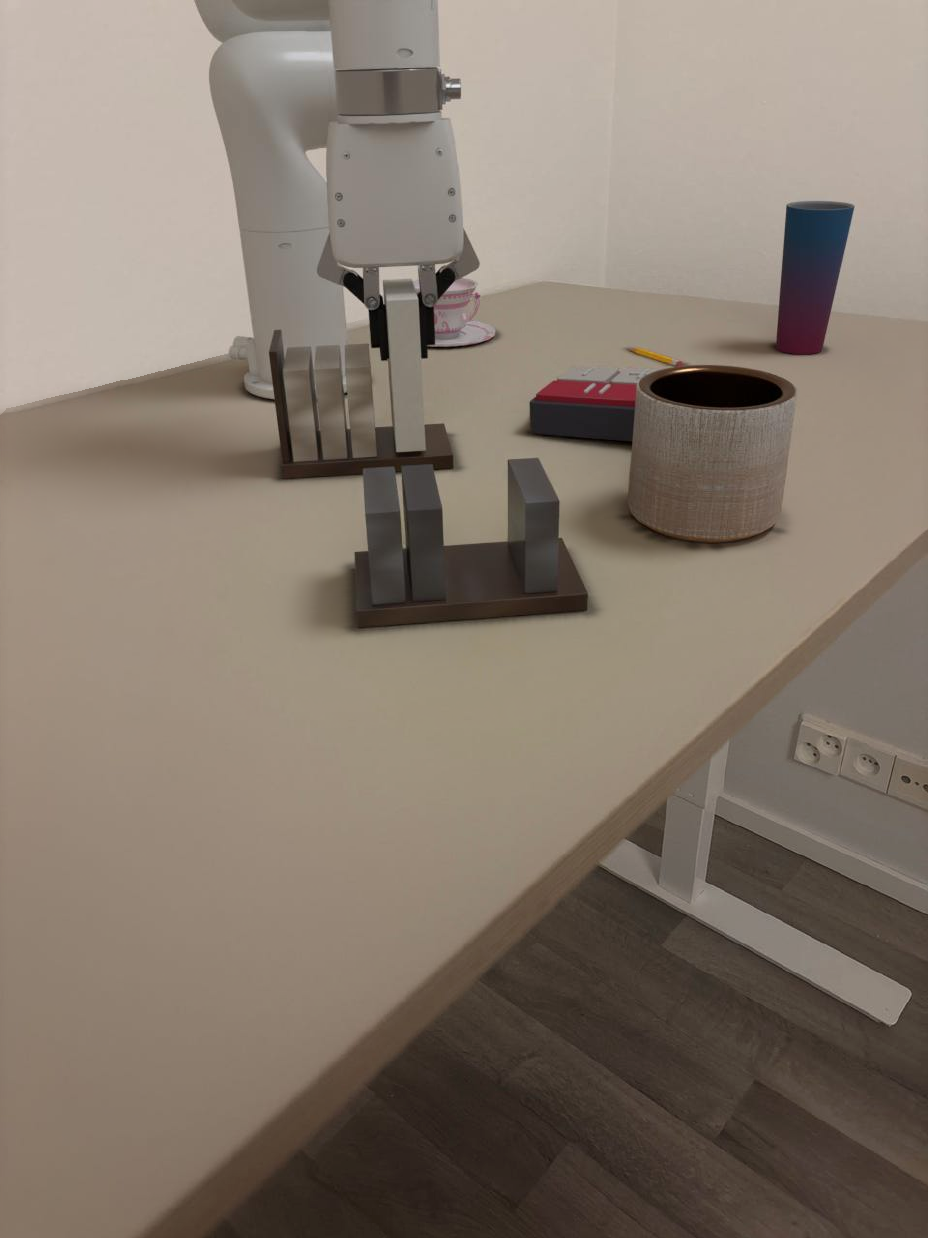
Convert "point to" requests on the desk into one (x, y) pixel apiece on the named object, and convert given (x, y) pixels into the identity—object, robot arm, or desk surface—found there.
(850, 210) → the cup
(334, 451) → the brown rack
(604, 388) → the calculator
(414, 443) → the white book
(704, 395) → the planter
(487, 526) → the desk surface
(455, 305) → the teacup
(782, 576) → the desk surface
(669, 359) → the pencil
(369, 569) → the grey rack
